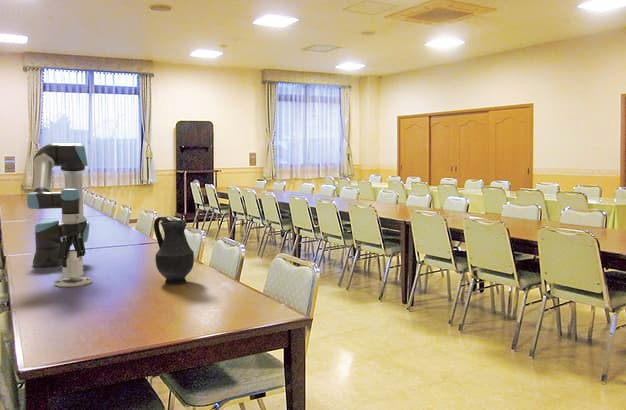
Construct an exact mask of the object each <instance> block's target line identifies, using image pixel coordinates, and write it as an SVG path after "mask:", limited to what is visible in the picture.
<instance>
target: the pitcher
mask: <svg viewBox="0 0 626 410" xmlns="http://www.w3.org/2000/svg"><path fill="white" fill-rule="evenodd" d="M187 224H188V223H187V220H183V219H182V220H181V219H179V220H177V219H173V220H172V219H169V218H167V217H166V216H158V217H156V218H155V220H154V223H153V230H154V234H155V237H156V241H157V244H158V247H159V249H158V251H157V252H156V253H155V266H156V269H157V271H158V272H159V274H160V275H161V276H162V277H163V278H165V281H164V283H165V284H167V285H181V284H186V282H187V279H186V277H187V276H188V275H189V274H190V273H191V271H192V270H193V267H194V264H195V252H194V250H193V249H192V248H191V247H190V245H189V243H188V242H189V241H188V240H187V236H186V234H185V230H186V226H187ZM160 225H161V227H162V230H163V233H164V234H163V235H164V237H163V236H162V233H161V229H160Z"/></svg>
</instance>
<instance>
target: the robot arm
mask: <svg viewBox="0 0 626 410" xmlns="http://www.w3.org/2000/svg"><path fill="white" fill-rule="evenodd" d="M85 147H86V146H85V145H84V144H83V143H74V142H73V143H71V142H70V143H67V142H66V143H55V142H54V143H49V144H46V145H44V146H42V147H41V148H40V149H38V150H37V151H36V153H35V155H34V157H33V160H32V163H33V167H34V175H33V185H32V191H31V192H28V193H27V194H26V203H27V204H26V205H27V206H26V207H27V208H28V209H29V210H30V209H31V210H45V209H61V222H60V221H59V219H52V220H51V219H50V220H44V221H40V222H37V223H36V224H35V225H34V236H35V240H34V241H35V251H34V252H35V253H34V255H33V258H32V259H33V260H32V267H36V268H49V267H50V268H51V267H52V268H53V267H56V266H61V268H62V267H63V274H66V275H68V274H69V260H67V258H68V254H69V251H70V250H71V248H72V246H73V247H74V250H78V251H79V258H80V259H82V260H83V257H85V255H86V248H85V246H86V245H85V243H87V242H88V240H89V232H90V221H88V219H87V217H85V216H84V195H83V194H84V193H83V192H84V191H83V172H84V171H85V170H86V167H88V166H89V165H88V164H89V163H88V158H87V152H86V148H85ZM54 167H60V170H61V171H62V172H63V178H64V188H62V189H61V190H60V191H57V192H56V191H55V192H54V191H51V190H52V172H53V168H54Z"/></svg>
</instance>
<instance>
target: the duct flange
mask: <svg viewBox="0 0 626 410" xmlns="http://www.w3.org/2000/svg"><path fill="white" fill-rule="evenodd" d="M92 283H93V279H92V278H91V277H88V276H80V277H79V278H63V277H62V278H58V279H57V280H54V281H53V286H54V287H58V288H77V287H83V286H87V285H90V284H92Z"/></svg>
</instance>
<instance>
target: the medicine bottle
mask: <svg viewBox="0 0 626 410" xmlns="http://www.w3.org/2000/svg"><path fill="white" fill-rule="evenodd" d="M67 260H69V274H68V275H66V274H63V267H62V266H61V270H62V271H61V274H62V275H61V276H62V277H61V278H62V279H63V278H79V277H83V275H84V260H83V258H82V259H80V258H79V251H78V250H75V249H70V251H69V254H68V258H67Z"/></svg>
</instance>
